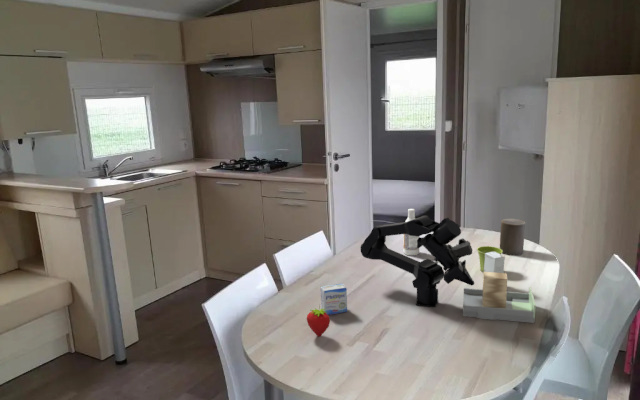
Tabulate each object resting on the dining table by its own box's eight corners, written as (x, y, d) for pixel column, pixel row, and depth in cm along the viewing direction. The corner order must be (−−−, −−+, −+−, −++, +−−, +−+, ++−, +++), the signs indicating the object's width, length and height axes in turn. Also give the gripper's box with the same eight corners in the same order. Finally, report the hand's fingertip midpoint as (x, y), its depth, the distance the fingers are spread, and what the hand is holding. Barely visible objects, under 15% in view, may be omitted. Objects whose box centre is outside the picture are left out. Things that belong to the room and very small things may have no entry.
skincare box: (482, 283, 177) (483, 252, 174) (492, 282, 178) (494, 251, 175) (492, 290, 171) (494, 258, 168) (503, 288, 172) (505, 256, 169)
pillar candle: (500, 254, 206) (502, 221, 202) (498, 247, 215) (500, 215, 211) (524, 256, 203) (527, 222, 199) (522, 248, 212) (524, 216, 208)
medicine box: (324, 315, 157) (323, 291, 155) (321, 310, 161) (320, 286, 159) (347, 312, 159) (346, 287, 157) (343, 306, 163) (342, 282, 161)
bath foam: (404, 250, 216) (404, 207, 212) (420, 251, 214) (420, 207, 210) (401, 255, 210) (401, 211, 206) (417, 256, 208) (418, 211, 203)
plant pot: (497, 266, 193) (498, 245, 191) (504, 275, 184) (505, 253, 182) (474, 266, 194) (474, 246, 192) (479, 275, 184) (480, 254, 183)
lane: (462, 316, 152) (463, 299, 151) (463, 298, 165) (464, 282, 164) (534, 323, 146) (535, 305, 145) (529, 304, 159) (530, 287, 158)
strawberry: (314, 328, 149) (313, 298, 146) (334, 335, 144) (333, 304, 142) (303, 336, 144) (301, 305, 142) (323, 343, 140) (321, 312, 137)
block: (482, 306, 154) (483, 277, 152) (482, 300, 159) (483, 271, 157) (505, 308, 152) (507, 279, 150) (504, 302, 157) (506, 273, 155)
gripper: (455, 243, 145) (492, 280, 144) (459, 225, 162) (492, 259, 161) (428, 265, 149) (464, 301, 148) (435, 246, 166) (467, 279, 165)
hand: (473, 284), depth 156 cm, fingers closed
